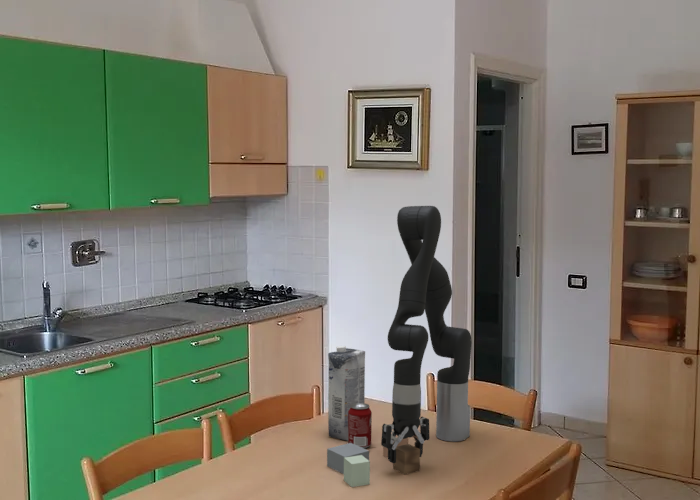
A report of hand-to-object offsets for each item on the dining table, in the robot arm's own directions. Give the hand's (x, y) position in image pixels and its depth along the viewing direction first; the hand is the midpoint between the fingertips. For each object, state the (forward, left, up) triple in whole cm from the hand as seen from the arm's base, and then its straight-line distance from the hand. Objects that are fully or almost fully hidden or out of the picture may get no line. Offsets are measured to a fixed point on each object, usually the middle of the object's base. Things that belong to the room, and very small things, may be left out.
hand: (405, 459), depth 208 cm
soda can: (0, -22, -3) cm, 22 cm away
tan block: (-4, -10, -3) cm, 11 cm away
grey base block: (+12, -10, -3) cm, 16 cm away
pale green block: (+16, 0, -3) cm, 16 cm away
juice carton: (-2, -32, -3) cm, 32 cm away
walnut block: (0, 0, -3) cm, 3 cm away
